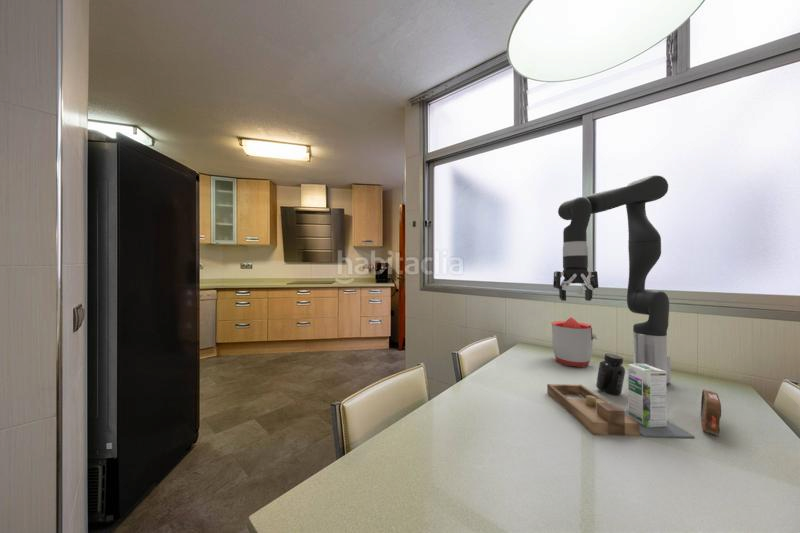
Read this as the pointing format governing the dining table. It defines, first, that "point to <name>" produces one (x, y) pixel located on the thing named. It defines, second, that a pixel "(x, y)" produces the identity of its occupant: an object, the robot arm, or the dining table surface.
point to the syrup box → (647, 395)
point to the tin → (710, 412)
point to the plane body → (593, 411)
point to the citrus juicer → (572, 342)
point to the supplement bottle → (611, 375)
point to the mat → (663, 431)
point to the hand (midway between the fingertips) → (575, 300)
